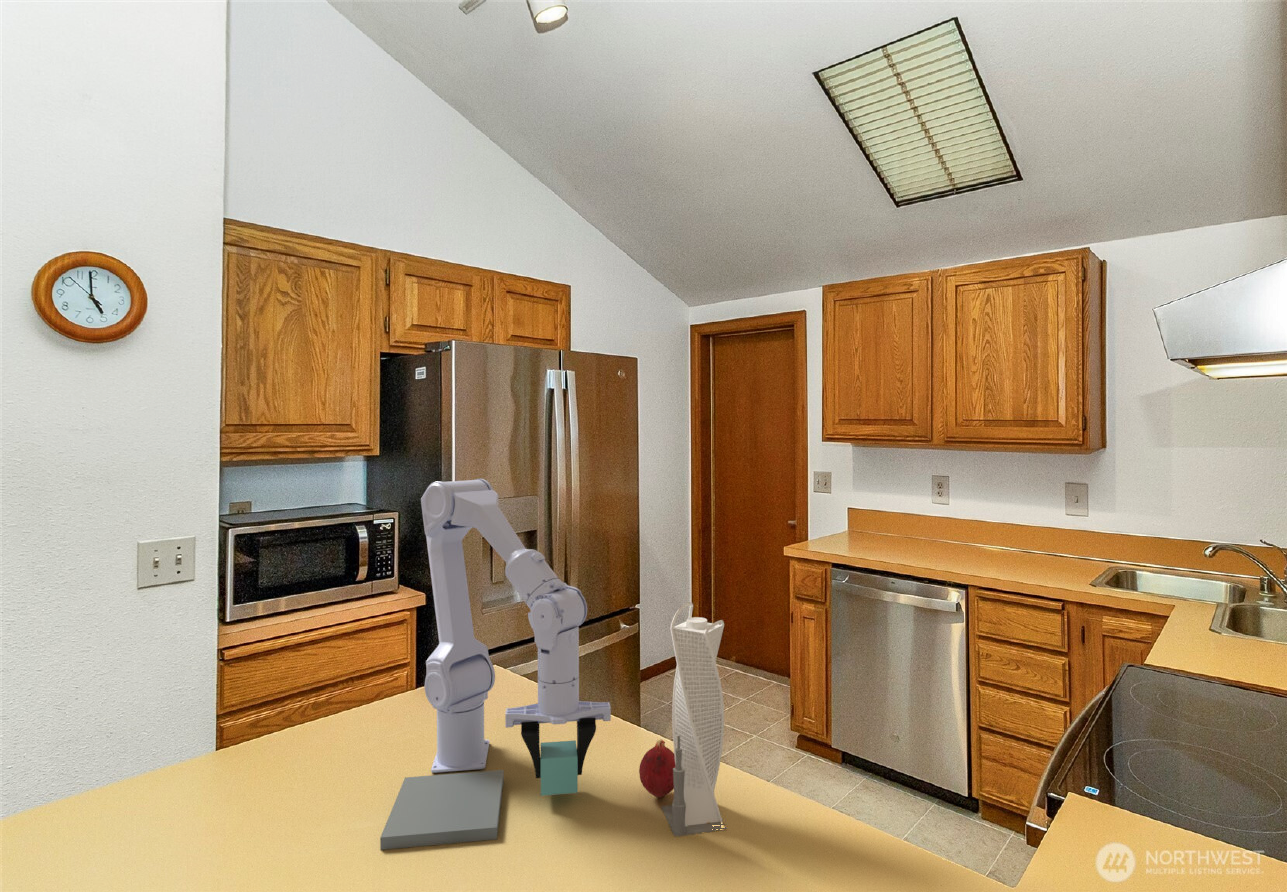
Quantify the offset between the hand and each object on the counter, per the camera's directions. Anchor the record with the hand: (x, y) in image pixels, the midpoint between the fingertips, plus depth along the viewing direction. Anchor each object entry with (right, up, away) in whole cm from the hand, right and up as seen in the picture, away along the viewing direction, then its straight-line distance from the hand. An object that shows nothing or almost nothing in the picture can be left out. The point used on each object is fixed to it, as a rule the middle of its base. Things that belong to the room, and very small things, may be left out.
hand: (558, 773), depth 94 cm
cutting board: (-15, -4, -3) cm, 15 cm away
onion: (+14, -4, 0) cm, 15 cm away
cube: (0, -2, 0) cm, 2 cm away
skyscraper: (+19, -4, -4) cm, 20 cm away
